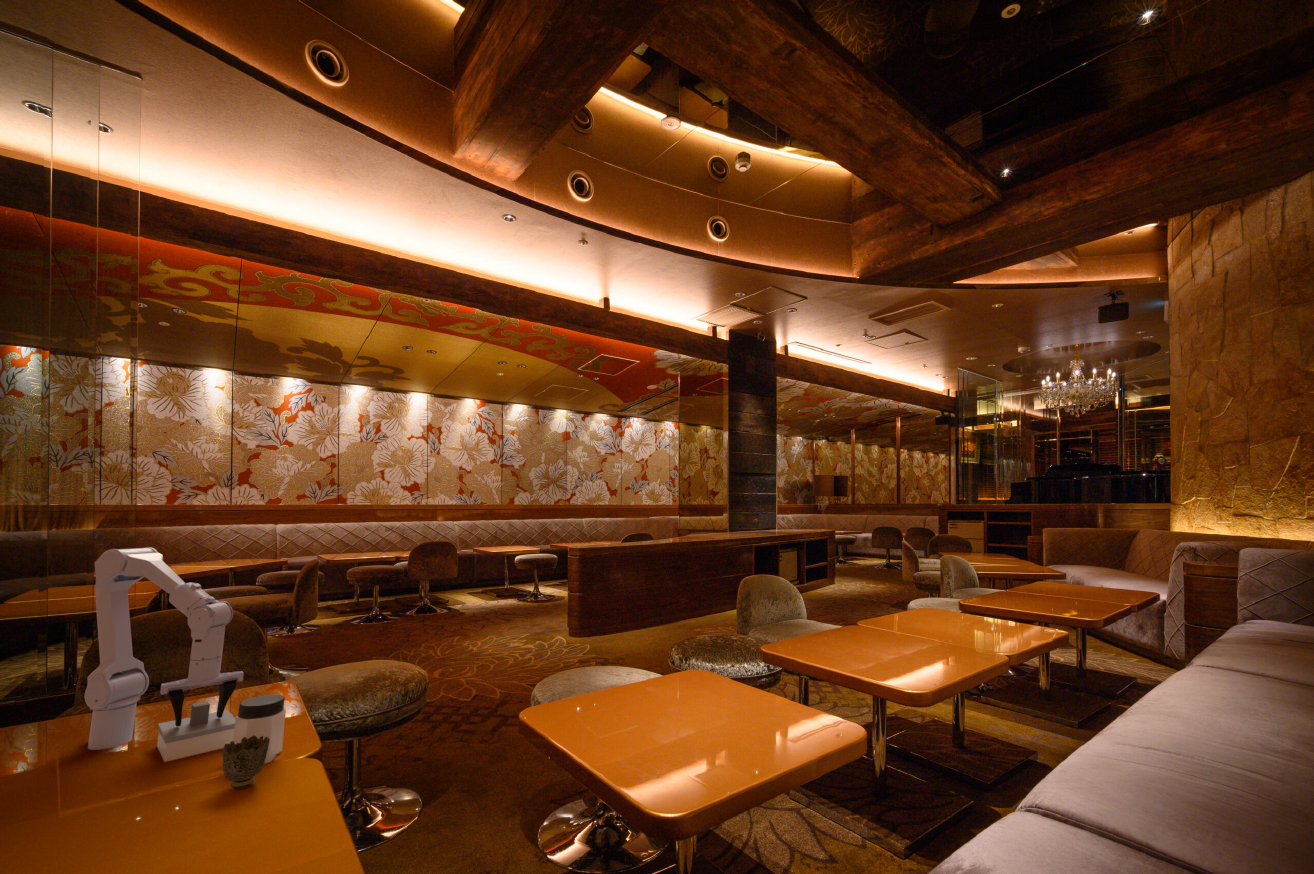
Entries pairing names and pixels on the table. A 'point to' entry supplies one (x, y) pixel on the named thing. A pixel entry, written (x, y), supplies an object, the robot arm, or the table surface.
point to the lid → (196, 724)
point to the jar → (262, 722)
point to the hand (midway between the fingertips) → (199, 720)
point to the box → (194, 745)
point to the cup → (244, 760)
